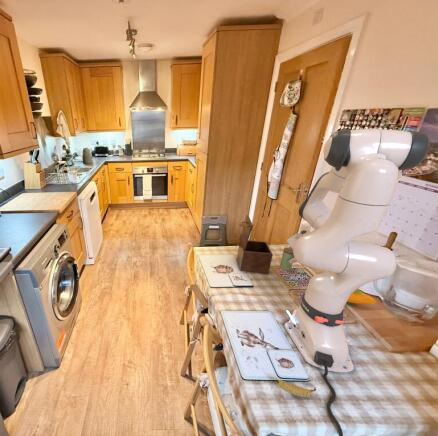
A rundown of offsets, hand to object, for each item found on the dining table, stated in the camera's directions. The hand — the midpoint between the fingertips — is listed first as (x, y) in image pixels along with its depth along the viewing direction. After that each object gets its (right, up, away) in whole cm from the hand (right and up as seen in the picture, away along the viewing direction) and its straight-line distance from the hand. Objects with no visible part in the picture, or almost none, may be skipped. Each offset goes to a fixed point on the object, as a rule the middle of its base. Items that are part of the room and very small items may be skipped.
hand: (286, 258), depth 111 cm
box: (-10, -6, +15) cm, 19 cm away
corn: (+19, -17, -10) cm, 27 cm away
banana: (-24, -32, -43) cm, 59 cm away
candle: (+18, -3, +20) cm, 27 cm away
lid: (-16, +12, +8) cm, 21 cm away
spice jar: (+1, -5, +2) cm, 5 cm away
